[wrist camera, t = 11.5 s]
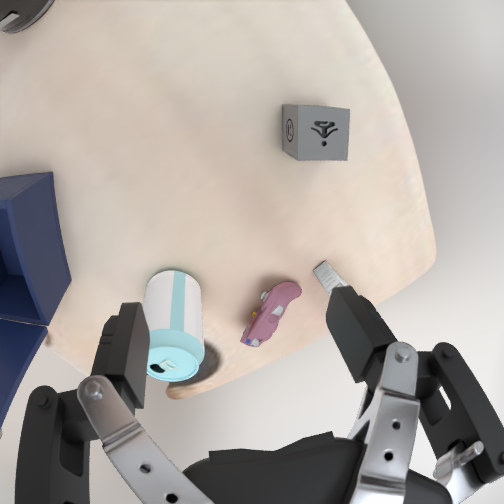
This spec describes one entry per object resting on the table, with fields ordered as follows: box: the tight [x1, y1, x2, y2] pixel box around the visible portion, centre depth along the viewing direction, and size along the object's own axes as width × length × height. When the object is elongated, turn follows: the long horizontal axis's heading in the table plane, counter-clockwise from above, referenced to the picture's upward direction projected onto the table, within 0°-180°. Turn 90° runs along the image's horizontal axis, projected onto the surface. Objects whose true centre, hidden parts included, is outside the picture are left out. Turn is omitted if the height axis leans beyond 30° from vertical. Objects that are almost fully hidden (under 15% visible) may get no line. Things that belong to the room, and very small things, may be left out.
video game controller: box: [240, 282, 302, 347], centre depth 36 cm, size 10×5×7 cm, turn 154°
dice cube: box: [282, 105, 350, 161], centre depth 25 cm, size 5×5×5 cm
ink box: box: [313, 261, 348, 296], centre depth 35 cm, size 2×11×10 cm, turn 43°
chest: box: [0, 172, 71, 326], centre depth 22 cm, size 15×12×9 cm
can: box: [142, 271, 204, 381], centre depth 29 cm, size 7×7×12 cm
